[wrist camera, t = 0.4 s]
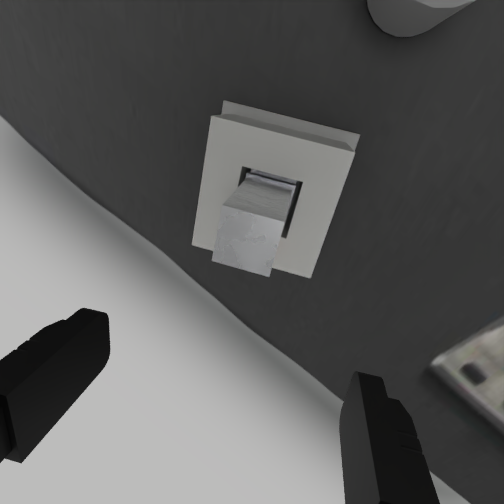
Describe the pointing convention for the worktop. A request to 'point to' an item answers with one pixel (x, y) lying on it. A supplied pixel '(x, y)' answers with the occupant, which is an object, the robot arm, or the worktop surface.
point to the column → (253, 222)
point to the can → (412, 14)
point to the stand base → (278, 163)
